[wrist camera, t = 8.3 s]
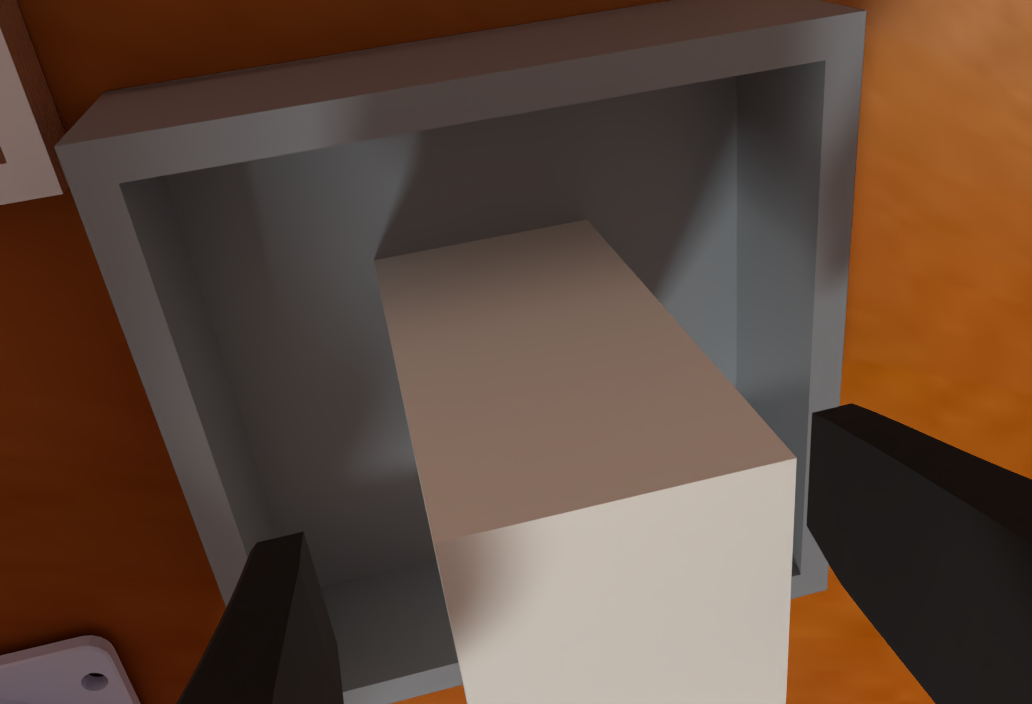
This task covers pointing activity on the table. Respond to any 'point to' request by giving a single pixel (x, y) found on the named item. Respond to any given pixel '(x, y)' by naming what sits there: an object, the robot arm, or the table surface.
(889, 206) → the table surface
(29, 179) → the steel socket
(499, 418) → the strut
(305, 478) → the bin
